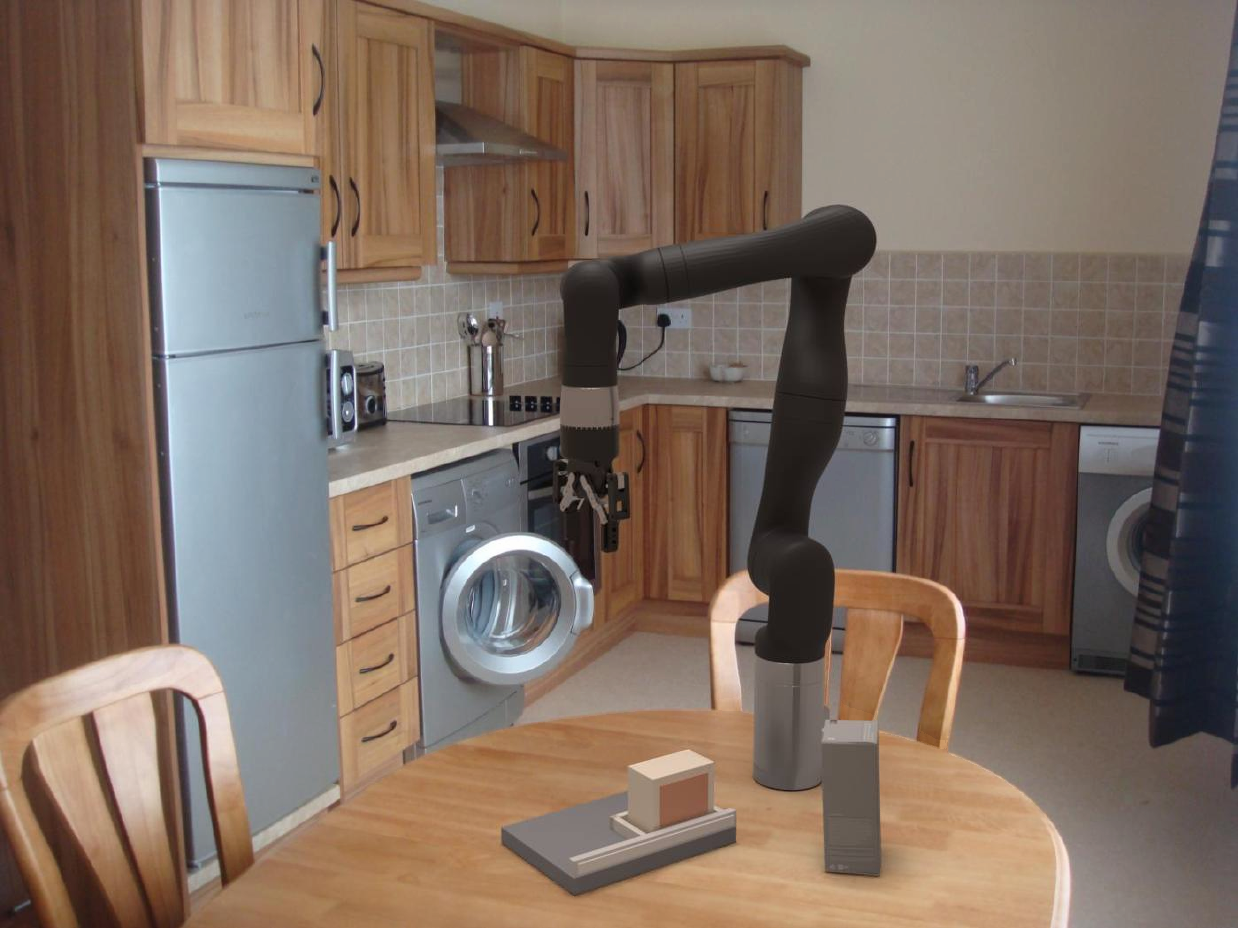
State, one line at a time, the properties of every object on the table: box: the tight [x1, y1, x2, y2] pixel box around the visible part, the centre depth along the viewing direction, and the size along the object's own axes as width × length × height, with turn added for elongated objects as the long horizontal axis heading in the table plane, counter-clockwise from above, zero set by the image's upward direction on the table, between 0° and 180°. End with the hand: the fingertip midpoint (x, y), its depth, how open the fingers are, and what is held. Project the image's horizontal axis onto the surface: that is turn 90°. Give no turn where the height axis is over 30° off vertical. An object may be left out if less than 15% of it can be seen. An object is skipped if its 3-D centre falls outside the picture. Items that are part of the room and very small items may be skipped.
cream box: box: [627, 748, 715, 834], centre depth 161 cm, size 9×5×8 cm, turn 125°
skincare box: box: [821, 719, 882, 877], centre depth 157 cm, size 8×7×16 cm
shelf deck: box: [500, 790, 737, 897], centre depth 162 cm, size 23×16×4 cm
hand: (590, 545), depth 175 cm, fingers open, 8 cm apart
